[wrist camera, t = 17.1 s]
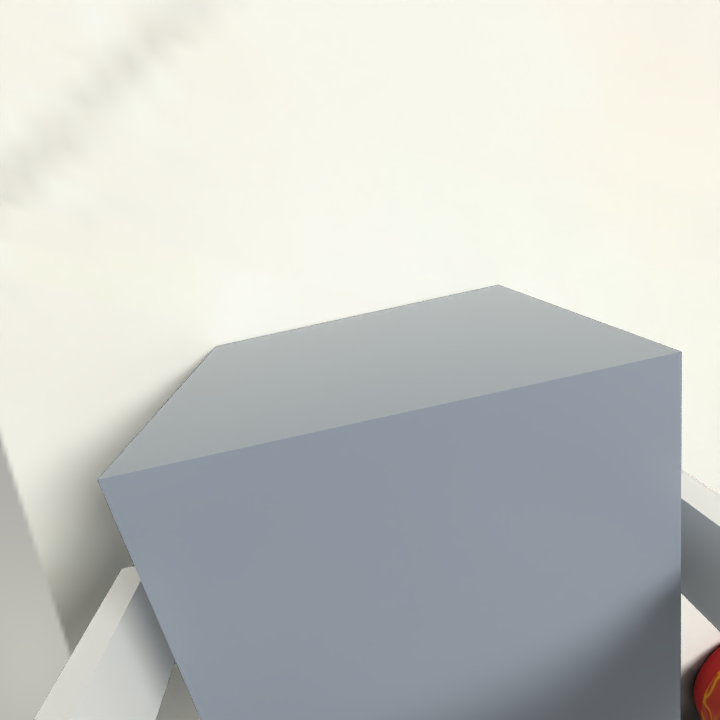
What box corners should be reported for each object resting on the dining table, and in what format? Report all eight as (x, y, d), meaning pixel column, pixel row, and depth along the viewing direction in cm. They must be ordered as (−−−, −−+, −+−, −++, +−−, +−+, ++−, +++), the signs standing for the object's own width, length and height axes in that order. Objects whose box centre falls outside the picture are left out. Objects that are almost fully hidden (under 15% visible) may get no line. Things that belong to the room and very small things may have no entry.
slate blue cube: (526, 524, 19) (680, 757, 11) (288, 576, 19) (257, 852, 11) (498, 284, 16) (681, 351, 8) (216, 346, 16) (96, 479, 8)
